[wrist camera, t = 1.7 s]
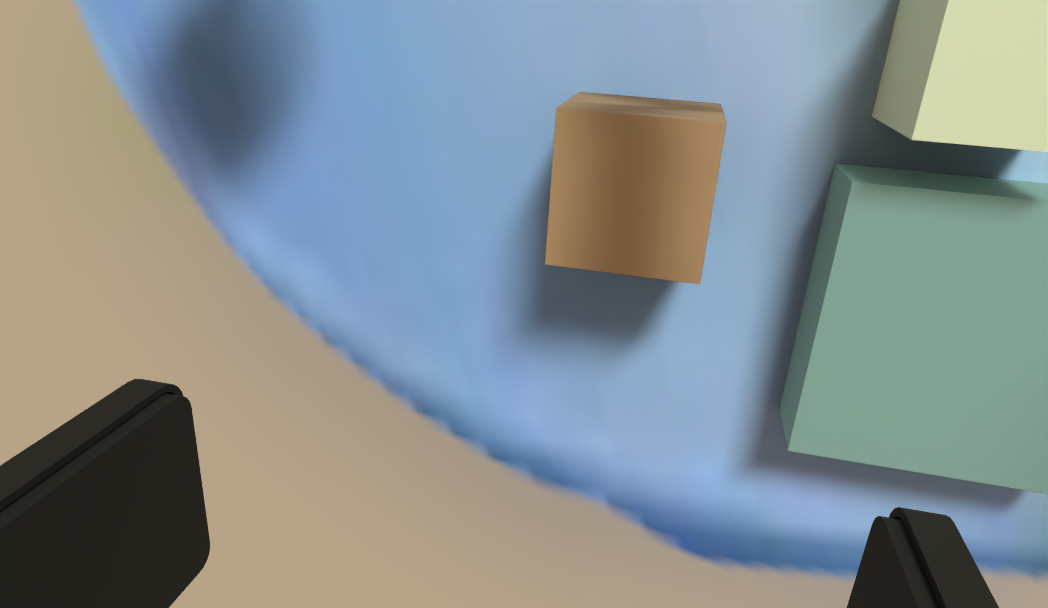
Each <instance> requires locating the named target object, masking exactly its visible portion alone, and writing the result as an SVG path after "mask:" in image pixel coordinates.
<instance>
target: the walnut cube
mask: <svg viewBox="0 0 1048 608" xmlns="http://www.w3.org/2000/svg"><path fill="white" fill-rule="evenodd" d="M725 129H726V120H725V116H724V113H723V110H722V106H721V104H717V103H705V102H693V101H681V100H669V99H657V98H646V97H634V96H622V95H610V94H598V93H586V92H579V93H578V94H576V95H575V96H573V97H572V98H570V99H569V100H568V101H566V102H565V103H563V104H562V105H560V106H559V107H557V108H556V121H555V134H554V148H553V162H552V175H551V189H550V202H549V216H548V229H547V243H546V256H545V264H546V265H554V266H562V267H569V268H577V269H585V270H593V271H601V272H608V273H616V274H624V275H632V276H639V277H647V278H655V279H663V280H671V281H678V282H686V283H694V284H700V281H701V275H702V269H703V263H704V257H705V251H706V245H707V239H708V233H709V227H710V221H711V214H712V208H713V202H714V196H715V190H716V184H717V178H718V172H719V166H720V160H721V153H722V147H723V141H724V135H725Z"/></svg>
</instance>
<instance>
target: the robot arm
mask: <svg viewBox="0 0 1048 608" xmlns="http://www.w3.org/2000/svg"><path fill="white" fill-rule="evenodd" d="M209 551H210V540H209V532H208V525H207V518H206V511H205V503H204V496H203V488H202V481H201V474H200V467H199V459H198V452H197V444H196V437H195V431H194V422H193V415H192V408H191V404H190V401H189V400H188V399H187V398H186V397H183V394H182V391H181V390H180V389H179V387H177V386H175V385H173V384H167V383H161V382H155V381H150V380H144V379H134V380H132V381H130V382H127V383H126V384H124V385H123V386H121V387H120V388H118V389H117V390H115V391H114V392H112V393H111V394H109V395H108V396H106V397H105V398H103V399H101V400H100V401H99V402H97V403H95V404H94V405H92V406H91V407H89V408H88V409H86V410H85V411H83V412H82V413H80V414H79V415H77V416H75V417H74V418H72V419H71V420H70V421H68V422H66V423H65V424H63V425H62V426H60V427H59V428H57V429H56V430H54V431H53V432H51V433H50V434H48V435H47V436H45V437H43V438H42V439H40V440H39V441H37V442H36V443H34V444H33V445H31V446H30V447H28V448H27V449H25V450H24V451H22V452H20V453H19V454H18V455H16V456H14V457H13V458H11V459H10V460H8V461H7V462H5V463H4V464H3V465H1V466H0V608H169V607H170V605H171V604H172V603H173V602H174V601H175V600H176V599H177V598H178V596H179V595H180V594H181V593H182V592H183V591H184V590H185V588H186V587H187V586H188V585H189V584H190V583H191V582H192V580H193V579H194V578H195V577H196V576H197V575H198V574H199V572H200V571H201V570H202V568H203V567H204V565H205V563H206V561H207V558H208V555H209ZM847 608H999V607H998V605H997V603H996V601H995V599H994V597H993V596H992V594H991V592H990V590H989V588H988V586H987V584H986V582H985V580H984V579H983V577H982V575H981V573H980V571H979V569H978V567H977V565H976V563H975V562H974V560H973V558H972V556H971V554H970V552H969V550H968V548H967V546H966V544H965V543H964V541H963V539H962V537H961V535H960V533H959V531H958V529H957V527H956V526H955V524H954V522H953V521H952V519H951V518H950V517H948V516H946V515H942V514H936V513H930V512H924V511H918V510H912V509H906V508H900V507H898V508H895V509H894V510H893V511H892V512H891V514H890V516H889V518H887V517H882V516H878V517H876V518H875V520H874V522H873V524H872V527H871V530H870V533H869V536H868V540H867V543H866V546H865V550H864V553H863V556H862V560H861V563H860V566H859V569H858V573H857V576H856V579H855V583H854V586H853V589H852V593H851V596H850V599H849V602H848V606H847Z"/></svg>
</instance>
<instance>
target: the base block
mask: <svg viewBox="0 0 1048 608" xmlns="http://www.w3.org/2000/svg"><path fill="white" fill-rule="evenodd" d="M779 412H780V417H781V422H782V426H783V431H784V436H785V440H786V445H787V450H788V451H792V452H798V453H804V454H810V455H816V456H822V457H828V458H834V459H840V460H846V461H852V462H858V463H864V464H870V465H876V466H882V467H888V468H894V469H901V470H907V471H913V472H919V473H925V474H931V475H937V476H943V477H949V478H955V479H961V480H967V481H973V482H979V483H985V484H991V485H997V486H1003V487H1010V488H1016V489H1022V490H1028V491H1034V492H1040V493H1046V494H1048V184H1046V183H1035V182H1025V181H1015V180H1005V179H994V178H984V177H974V176H963V175H953V174H943V173H933V172H922V171H912V170H902V169H891V168H881V167H871V166H861V165H850V164H840V163H835V166H834V170H833V174H832V179H831V183H830V188H829V192H828V196H827V201H826V205H825V210H824V214H823V218H822V223H821V227H820V232H819V236H818V240H817V245H816V249H815V253H814V258H813V262H812V267H811V271H810V275H809V280H808V284H807V289H806V293H805V297H804V302H803V306H802V310H801V315H800V319H799V324H798V328H797V332H796V337H795V341H794V346H793V350H792V354H791V359H790V363H789V368H788V372H787V376H786V381H785V385H784V389H783V394H782V398H781V403H780V407H779Z"/></svg>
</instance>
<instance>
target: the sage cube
mask: <svg viewBox="0 0 1048 608" xmlns="http://www.w3.org/2000/svg"><path fill="white" fill-rule="evenodd" d="M872 117H873V118H875V119H877V120H878V121H880V122H882V123H884V124H885V125H887V126H889V127H890V128H892V129H894V130H896V131H897V132H899V133H901V134H902V135H904V136H906V137H908V138H909V139H911V140H919V141H930V142H941V143H953V144H964V145H975V146H986V147H997V148H1008V149H1020V150H1031V151H1042V152H1048V0H900V2H899V6H898V10H897V14H896V18H895V22H894V26H893V31H892V35H891V39H890V43H889V47H888V51H887V56H886V60H885V64H884V68H883V72H882V76H881V80H880V85H879V89H878V93H877V97H876V101H875V105H874V109H873V114H872Z"/></svg>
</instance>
